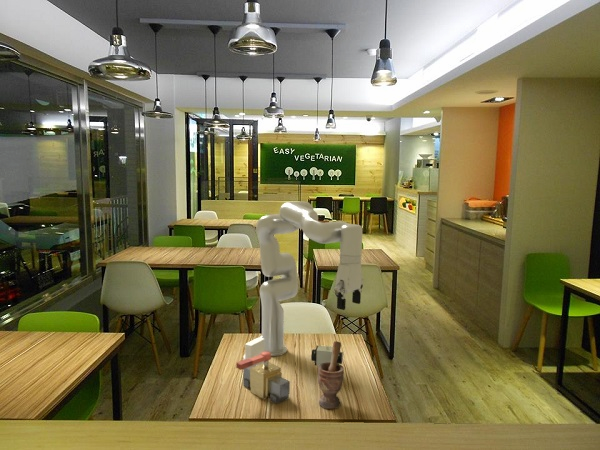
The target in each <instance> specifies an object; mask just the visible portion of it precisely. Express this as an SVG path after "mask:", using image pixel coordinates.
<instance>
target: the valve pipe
mask: <svg viewBox="0 0 600 450" xmlns="http://www.w3.org/2000/svg"><path fill="white" fill-rule="evenodd" d="M242 370H243V371H242V374H243V375H242V378H243V382H242V383H243V385H242V386H243V387H245V388H247V389H250V393H252V394H254V396H257V397H259V398H260V399H262V400H265V399H266V398H269V401H270V402H271V403H273V404H275V405H278V404H280V403H282V402H284V401H287V400H288V399H290V390H291V389H290V388H291V387H290V385H291V384H290V383H291V381H290V380H288V379H285V378H284V377H283V376H282V374H283V373H282V369H281V367H280V366H279V365H276V364H274V363H272V362H270V361H269V360H266V361H263V364H260V365H256V364H254V365H252V366H250V367H247V368H245V369H242Z"/></svg>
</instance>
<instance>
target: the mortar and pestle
mask: <svg viewBox="0 0 600 450" xmlns="http://www.w3.org/2000/svg"><path fill="white" fill-rule="evenodd" d="M331 347H332V357H331V362H325V363H321V364H320V365H319V366H317V374H318V375H317V381H318V387H319V389H320V390H321V392H322V393H323V394H322V395H321V396H320V397H319V400H318V404H319V406H320V407H321V408H322V409H327V410H328V409H329V410H330V409H331V410H332V409H339V407H340V406H341V403H342V402H341V399H340V397H339V396H337V394H338V393H339V392H341V390H342V386H343V382H344V372H345V371H344V370H345V369H344V366H343V364H338V363H337V359H338V355H339V352H341V347H342V343H341V342H340V341H335V340H334V342H333V343H332V346H331Z"/></svg>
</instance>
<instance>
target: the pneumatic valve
mask: <svg viewBox="0 0 600 450" xmlns="http://www.w3.org/2000/svg"><path fill="white" fill-rule="evenodd" d="M332 347H333V346H330V345H326V346H325V345H316V346H315V348H313V349H312V350H311V355H310V357H311V359H310V360H311V362H313V363H314V366H316V367H318V366H319V365H320V364H321V363H325V362H331V357H332ZM343 360H344V352H342V351H340V352H339V355H338V359H337V363H338V364H340V365H343Z"/></svg>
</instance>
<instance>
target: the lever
mask: <svg viewBox="0 0 600 450" xmlns="http://www.w3.org/2000/svg"><path fill="white" fill-rule="evenodd" d="M271 359H272V356H271V353H270V352H267V351H265V352H262V353H261V354H260V355H258V356H255V357H252V358H249V359H245V360H240V361H237V362H236V364H235V365H236V367H235V368H236V369H238V370H240V371H242V370H243V369H245V368H247V367H250V366H252V365H254V364H257V363H260V362H263V361H266V360H268V361H270V360H271Z"/></svg>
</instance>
